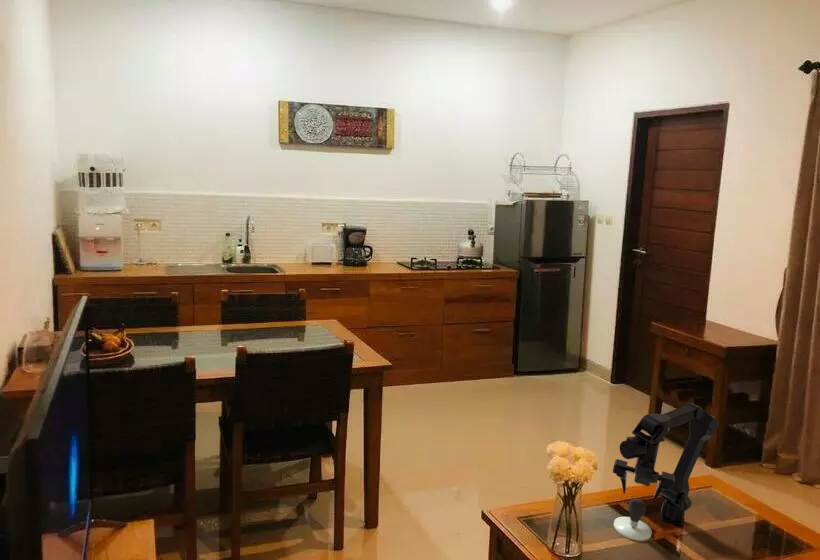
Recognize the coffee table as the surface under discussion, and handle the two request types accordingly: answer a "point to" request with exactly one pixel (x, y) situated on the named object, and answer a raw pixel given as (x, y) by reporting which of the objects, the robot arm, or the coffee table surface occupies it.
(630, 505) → the light bulb
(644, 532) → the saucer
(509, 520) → the coffee table surface
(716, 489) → the coffee table surface
